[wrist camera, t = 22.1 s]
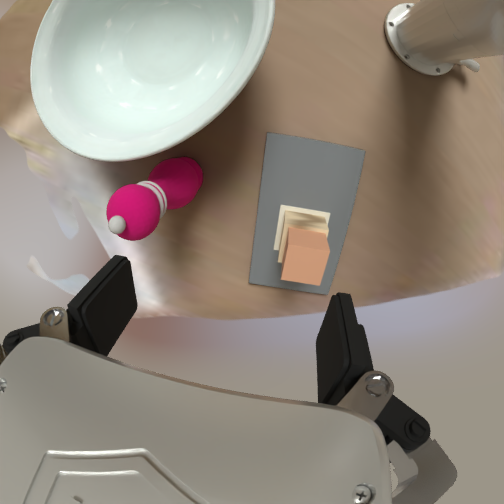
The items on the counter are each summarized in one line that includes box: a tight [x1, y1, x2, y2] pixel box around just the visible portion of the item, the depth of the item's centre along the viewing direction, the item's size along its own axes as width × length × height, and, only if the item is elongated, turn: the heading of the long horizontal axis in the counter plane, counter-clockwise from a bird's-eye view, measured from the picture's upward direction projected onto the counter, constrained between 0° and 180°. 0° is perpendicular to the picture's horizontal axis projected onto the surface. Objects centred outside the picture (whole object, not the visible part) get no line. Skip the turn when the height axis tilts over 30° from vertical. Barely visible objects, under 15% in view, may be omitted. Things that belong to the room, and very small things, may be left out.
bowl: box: [30, 0, 275, 162], centre depth 24 cm, size 32×32×15 cm
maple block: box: [278, 210, 329, 263], centre depth 39 cm, size 6×6×5 cm
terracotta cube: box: [281, 227, 330, 286], centre depth 35 cm, size 5×5×5 cm
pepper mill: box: [107, 157, 203, 241], centre depth 32 cm, size 7×7×20 cm
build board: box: [249, 132, 365, 295], centre depth 41 cm, size 14×25×1 cm, turn 174°
